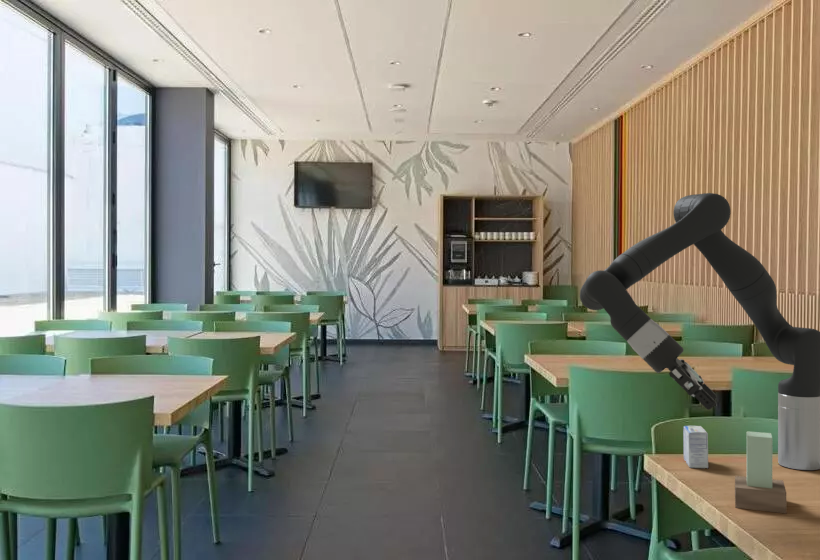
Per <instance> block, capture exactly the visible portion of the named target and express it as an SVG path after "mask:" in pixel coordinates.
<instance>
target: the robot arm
mask: <svg viewBox="0 0 820 560" xmlns="http://www.w3.org/2000/svg"><path fill="white" fill-rule="evenodd" d="M731 210H732V209H731V205H730V203H729V201H728V199H726V197H724V196H723V195H721V194H718V193H713V192H707V193H705V192H704V193H696V194H689V195H685V196H683V197H681V198H680V199H678V200H677V202H676V203H675V205H674V207H673V219H674V221H675V223H673V224H672V225H670V226H669V227H666V228H664V229H662V230H661V231H658V232H656V233H655V234H652V235H650V236H648V237H646V238H644V239H642V240H640V241H638V242H637V243H635V244H634V245H632V246H630V247H629V248H627V249H626V250H625V251H623V252H622V253H621V254H620V255H618V256H617V257H616V258H615V259H614V260H613V261H612V262H611V263H610V265H609V266H608V267H607V268H605V269H604V270H602V269H601V270H600V269H599V270H596V271H593V272H591V273H590V274H589V275H588V277H587V278H586V280H585V281H584V282H583V284H582V286H581V287H580V292H579V299H580V301H581V304H582V305H583V306H584V307H585V308H586V309H588V310H593V311H601V310H604V311H605V312H606V314H608V316H609V318H610V325H611V326H612V328H613V329H614V330H615V331H616V332H617V333H618V334H619V335H620V336H621V337H622V338H623V339H624V340H625V341H626V342H627V344H628V345H629V346H630V347H631V348H632V350H633V351H634V352H635V353H636V354H637V355H638V356H639V357H640V358H641V359H642V360H643V361H644V362H645V363H646V364H647V365H648V366H649V367H650V368H651V369H652V370H653V371H654V372H655V373H656V374H659V373H662V372H663V371H664V370H666V369H668V371H669V373H668V375H669V377H671V378H672V380H673V381H675V382H676V384H678V385H679V387H681V388H682V389H683V390H684V391H685V392H686V394H687V395H688V396H690V397H693V398H695V399H696V400H697V401H698V402H699V403H700V404H701V405H702V406H703V407H705V409H706V410H711V409H712V408H714V407H715V405H717V401H716V398H717V394H716V393H715V392H714V391H713V390H712V389H711V388H710V387H709V386H708V385H707V384H706V383H705V381H704V379H703V378H702V376H701V375H700V374H698V372H697V371H696V370H695V369H693V368H692V366H691V365H690V364H689V363H688V362H687V361H685V360H684V359H682V358H681V359H679V357H680V356H681V355H682V354H683V353H684V350H685V349H684V348H683V347H682V345H681V344H680V343H678V342H677V341H676V340H675V338H673V337H672V336H671V335H670V334H669V333H668V332H667V331H666V330H665V329H664V328H663V327H662V326H661V325H660V324H659V323H657V322H656V321H654V320H653V319H652V318H651V317H650V316H649V315H648V314H647V313H646V312H645V311H644V310H643V309H642V308H640V306H638V305H637V304H636V302H635V301H634V299H633V298H632V296H631V294H630V293H629V291H628V289H629V288H630V287H632V286H634V285H635V284H636V283H639V281H641V280H643V279H644V278H645V277H647V276H648V275H649V274H651V273H652V272H653V271H654V270H656V269H657V268H659V267H660V266H661V265H663V264H664V263H666V262H667V261H668V260H670V259H671V258H673V257H674V256H676V255H677V254H679V253H680V252H682V251H684V250H685V249H686V250H687V248H689V247H692V245H694V246H695V248H697V250H698V251H699V252H700V254H702V255H703V257H704V258H705V260H706V261H707V262H708V264H709V265H710V266H711V268H712V269H713V270H714V271H715V272H716V274H717V276H719V278H720V279H721V280H722V282H723V283H724V285H725V287H726V288H727V289H728V291H729V292H730V294H731V295H732V296H733V297H734V299H735V300H736V301H737V302H738V303H739V305H740V306H741V307H742V308H743V310H744V312H745V313H746V315H747V316H748V317H749V319H750V320H751V321H752V323H753V325H754V326H755V327H756V329H757V331H758V332H759V334H760V335H761V337H762V339H763V341H764V342H765V345H766V346H767V348H768V350H769V352H770V353H771V354H772V355H773V357H774V358H775V359H776V360H777V361H779V362H781V363H782V364H784V365H790V366H793V371H792V375H791V376H790V377H788V378H785V379H782V380H779V382H778V385H777V405H778V407H777V411H778V412H777V413H778V414H777V428H778V429H777V442H778V443H777V463H779V464H778V465H780V466H782V467H785V468H789V469H794V470H802V471H815V470H820V331H819V330H818V329H816V328H815V329H814V328H809V327H800V326H799V327H798V326H793V325H791V324H790V323H789V321H787V320H786V318H785V317H784V316H783V314H782V313H781V312H780V310H779V309H778V305H777V297H778V296H777V294H778V293H777V286H776V283H775V280H774V279H773V277H772V276H771V275H770V273H769V272H768V271H767V270H766V268H765V266H764V265H763V263H762V262H760V260H759V259H758V258H757V257H755V256H754V255H753V254H752V253H751V252H749V251H748V250H746V249H745V248H743V247H741V246H740V245H738V243H737V244H736V242H734V241H733V240H732V239H730V238H729V237H728V236H727V235H726V234H725V232H723V231H722V230H723V228H725V226H726V225H727V224H728V223H729V220H730V218H731V213H732V212H731Z"/></svg>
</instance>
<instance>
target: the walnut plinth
mask: <svg viewBox="0 0 820 560" xmlns="http://www.w3.org/2000/svg"><path fill="white" fill-rule="evenodd" d="M734 501H735V502H734V503H735V505H734V506H735V508H738V509H745V510H746V509H747V510H753V511H761V512H762V511H763V512H769V513H770V512H771V513H778V514H779V513H781V514H787V490H786V486H785V483H784V479H783V480H782V479H773V478H772V488H763V487H753V486H747V476H742V475H741V476H740V475H734Z"/></svg>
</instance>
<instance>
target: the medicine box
mask: <svg viewBox="0 0 820 560" xmlns="http://www.w3.org/2000/svg"><path fill="white" fill-rule="evenodd" d="M682 431H683V432H682V433H683V434H682V435H683V447H682V448H683V460H684V461H686V462H685V463H686V465H687V466H688V467H689V469H705V468H707V469H708V468H709V441H708V440H709V438H708V437H709V433H708V432H707V431H706V429H704V428H703V427H702V425H684V426H683V430H682Z"/></svg>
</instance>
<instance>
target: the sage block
mask: <svg viewBox="0 0 820 560" xmlns="http://www.w3.org/2000/svg"><path fill="white" fill-rule="evenodd" d="M746 477H747V486H753V487H763V488H772V479H773V435H772V433H771V432H758V431H746Z"/></svg>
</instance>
